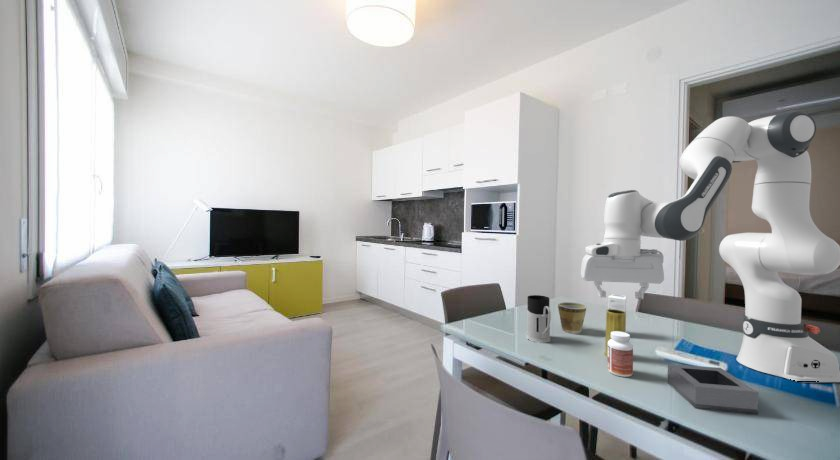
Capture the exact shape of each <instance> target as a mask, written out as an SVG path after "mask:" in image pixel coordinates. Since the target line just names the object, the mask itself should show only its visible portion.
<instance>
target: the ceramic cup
mask: <svg viewBox="0 0 840 460" xmlns="http://www.w3.org/2000/svg"><path fill="white" fill-rule="evenodd" d="M557 308H558V314H559V320H560V325H561V330H563V332H565V333H568V334H573V335H574V334H575V335H576V334H577V335H578V334H580V333H581V332H582V330H583V326H584V320H585V317H586V312H587V306H586V305H585V304H582V303H579V302H578V303H577V302H568V301H567V302H565V301H564V302H559V303H557Z"/></svg>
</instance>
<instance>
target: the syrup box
mask: <svg viewBox="0 0 840 460" xmlns="http://www.w3.org/2000/svg"><path fill="white" fill-rule="evenodd" d="M607 301H608V302H607V303H608V306H607V307H608V309H616V310H621V311H624V312H626V313H627V296H626V295H622V294H621V295H619V294H612V293H609V294H608V299H607ZM608 309H607V310H608Z"/></svg>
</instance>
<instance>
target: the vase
mask: <svg viewBox="0 0 840 460" xmlns="http://www.w3.org/2000/svg"><path fill="white" fill-rule="evenodd" d="M605 319H606V321H605V339H604V340H605V342H604V343H605V345H604V348H605V349H604V356H606V357H607V356H608V341H609V340H610V339H612V338H611V332H612V331H620V332H625V333H627V332H626V330H627V329H626V326H627V320H626V319H627V311H626V312H624V311H621V310H616V309H606V318H605Z"/></svg>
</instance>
